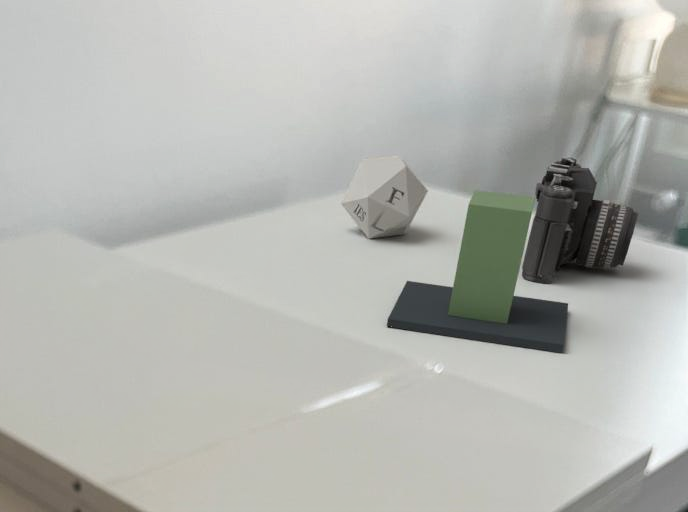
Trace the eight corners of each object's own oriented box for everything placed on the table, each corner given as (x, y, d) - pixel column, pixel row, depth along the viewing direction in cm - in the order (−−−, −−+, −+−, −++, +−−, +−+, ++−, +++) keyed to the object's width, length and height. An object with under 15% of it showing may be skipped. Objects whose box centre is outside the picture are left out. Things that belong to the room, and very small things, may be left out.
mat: (566, 311, 102) (568, 303, 101) (562, 353, 93) (564, 344, 92) (405, 288, 105) (406, 280, 105) (386, 326, 96) (387, 318, 96)
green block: (511, 305, 100) (535, 197, 94) (507, 324, 96) (532, 211, 90) (454, 297, 101) (474, 189, 95) (447, 315, 97) (468, 203, 91)
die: (325, 239, 121) (365, 178, 112) (339, 183, 124) (378, 121, 115) (389, 268, 123) (433, 211, 114) (401, 213, 126) (444, 154, 117)
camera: (620, 294, 107) (649, 193, 101) (513, 279, 109) (536, 179, 103) (622, 257, 118) (648, 163, 112) (525, 244, 120) (546, 152, 114)
